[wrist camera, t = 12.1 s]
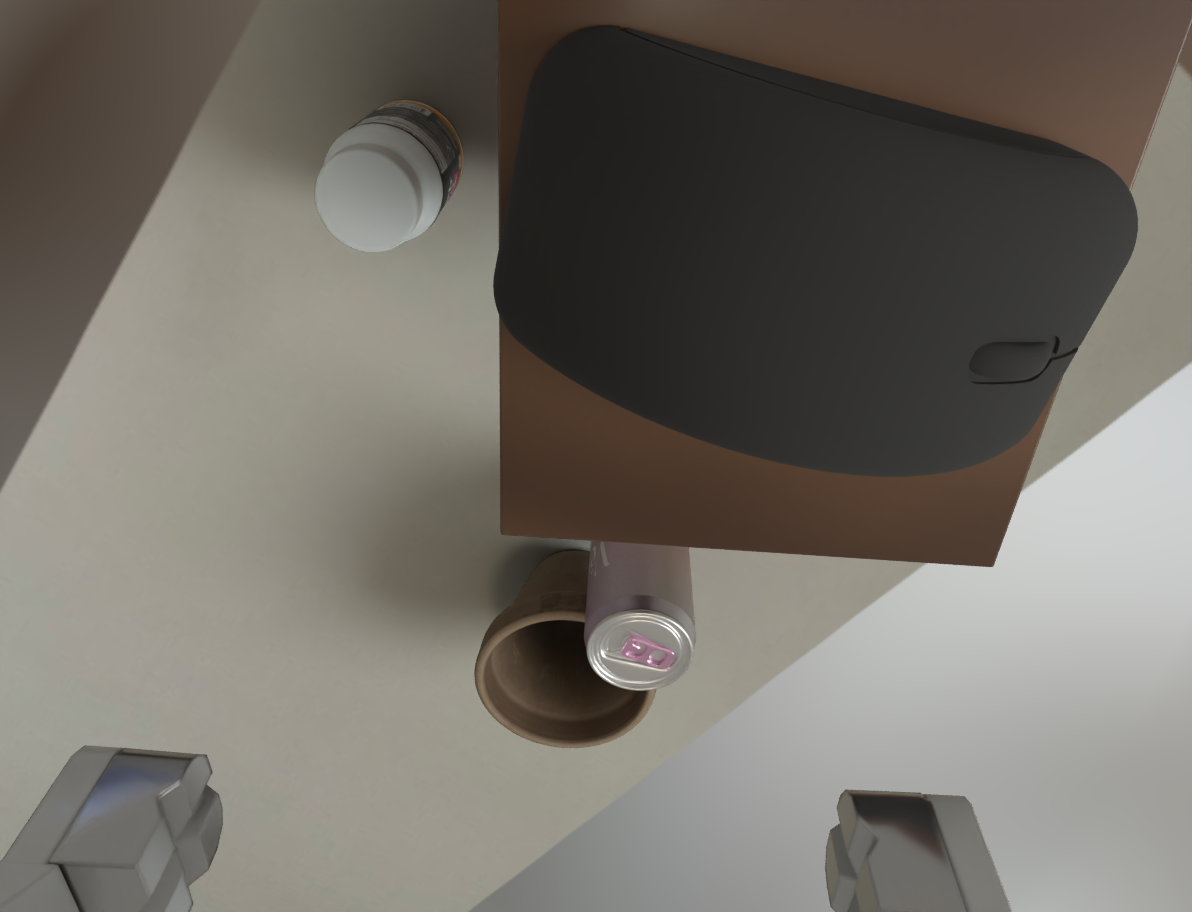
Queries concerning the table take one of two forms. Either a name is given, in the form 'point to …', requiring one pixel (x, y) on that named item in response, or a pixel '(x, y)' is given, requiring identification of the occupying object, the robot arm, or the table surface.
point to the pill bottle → (389, 176)
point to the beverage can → (639, 614)
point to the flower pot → (552, 665)
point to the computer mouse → (799, 257)
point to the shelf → (873, 64)
